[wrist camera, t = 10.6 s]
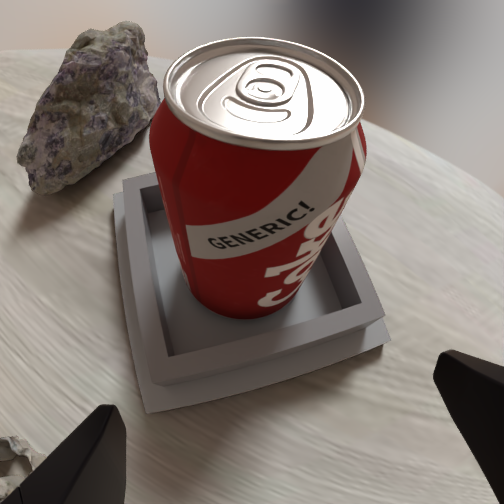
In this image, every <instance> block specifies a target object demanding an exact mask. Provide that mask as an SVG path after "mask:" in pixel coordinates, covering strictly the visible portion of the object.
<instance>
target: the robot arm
mask: <svg viewBox="0 0 504 504" xmlns="http://www.w3.org/2000/svg"><path fill="white" fill-rule="evenodd" d="M433 379H434V382H435V384H436V386H437V388H438V390H439V392H440V394H441V397H442V399H443V401H444V403H445V405H446V407H447V409H448V411H449V413H450V415H451V417H452V419H453V421H454V423H455V424H456V426H457V428H458V429H459V431H460V433H461V434H462V436H463V438H464V439H465V441H466V443H467V445H468V446H469V448H470V450H471V452H472V453H473V455H474V457H475V459H476V460H477V462H478V464H479V466H480V468H481V469H482V471H483V473H484V475H485V477H486V479H487V480H488V482H489V484H490V486H491V488H492V490H493V492H494V494H495V496H496V498H497V500H498V502H499V504H504V367H503V366H500V365H497V364H494V363H491V362H488V361H485V360H482V359H479V358H476V357H473V356H470V355H467V354H464V353H462V352H459V351H456V350H447V351H445V352H442V353H441V354H440V355H439V357H438V360H437V364H436V367H435V370H434V373H433ZM19 486H20V487H19ZM19 486H17V487H16V488H15V489H14V490H13V491H12V492H11V493H10V494H9V495H8V496H7V497H6V498H5V499H4V500H3V501H2V502H1V503H0V504H124V499H125V489H126V427H125V424H124V422H123V420H122V418H121V415H120V413H119V411H118V408H117V407H116V406H115V405H109V404H102V405H99V406H98V407H97V408H96V409H95V410H94V411H93V412H92V413H91V414H90V415H89V416H88V417H87V418H86V419H85V420H84V421H83V422H82V423H81V424H80V425H79V426H78V427H77V428H76V429H75V430H74V431H73V432H72V433H71V434H70V435H69V436H68V437H67V438H66V439H65V440H64V441H63V442H62V443H61V444H60V445H59V446H58V447H57V448H56V449H55V450H54V451H53V452H52V453H51V454H50V455H49V456H48V457H47V458H46V459H45V460H44V461H43V462H42V463H41V464H40V465H39V466H38V467H37V468H36V469H35V470H34V471H32V472H31V473H30V474H29V475H28V476H27V477H26V478H25V479H24V480H23V481H22V482H21V483H20V485H19Z"/></svg>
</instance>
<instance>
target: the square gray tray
mask: <svg viewBox="0 0 504 504" xmlns="http://www.w3.org/2000/svg"><path fill="white" fill-rule="evenodd" d="M122 181H123V192H120V193H116V194H113V200H114V218H115V232H116V244H117V254H118V264H119V273H120V281H121V289H122V296H123V303H124V310H125V316H126V322H127V328H128V334H129V339H130V345H131V350H132V355H133V360H134V365H135V370H136V374H137V379H138V383H139V388H140V392H141V396H142V400H143V404H144V408H145V412H146V414H149V413H156V412H161V411H166V410H172V409H177V408H181V407H186V406H191V405H195V404H200V403H204V402H209V401H213V400H217V399H221V398H225V397H229V396H233V395H237V394H240V393H244V392H248V391H251V390H255V389H258V388H262V387H265V386H269V385H272V384H275V383H278V382H282V381H285V380H288V379H291V378H294V377H297V376H300V375H303V374H306V373H309V372H312V371H315V370H318V369H321V368H324V367H326V366H329V365H332V364H335V363H337V362H340V361H343V360H345V359H348V358H350V357H353V356H355V355H358V354H361V353H363V352H365V351H368V350H370V349H373V348H375V347H378V346H380V345H382V344H385V343H387V342H389V341H391V338H390V336H389V333H388V330H387V328H386V325H385V323H384V320H383V318H382V317H383V316H385V313H384V310H383V308H382V305H381V303H380V300H379V298H378V296H377V293H376V291H375V288H374V286H373V284H372V281H371V279H370V277H369V274H368V272H367V270H366V268H365V265H364V263H363V261H362V259H361V256H360V254H359V252H358V250H357V248H356V246H355V243H354V241H353V239H352V237H351V235H350V233H349V231H348V229H347V226H346V224H345V222H344V220H343V218H342V216H341V214H340V216H339V218H338V220H337V222H336V224H335V226H334V228H333V229H332V231H331V233H330V235H329V237H328V239H327V240H326V242H325V244H324V246H323V248H322V250H321V251H320V253H319V255H318V257H317V258H316V260H315V262H314V264H313V266H312V267H311V269H310V271H309V273H308V274H307V276H306V278H305V280H304V281H303V283H302V285H301V287H300V288H299V290H298V292H297V293H296V295H295V296H294V298H293V299H292V300H291V301H290V302H289V303H288V304H287V305H286V306H285V307H283V308H282V309H281V310H279V311H277V312H276V313H274V314H272V315H270V316H267V317H264V318H260V319H255V320H234V319H229V318H225V317H222V316H220V315H217V314H215V313H213V312H211V311H210V310H208V309H207V308H205V307H204V306H203V305H201V304H200V303H199V302H198V301H197V300H196V299H195V297H194V296H193V295H192V293H191V292H190V290H189V289H188V287H187V285H186V282H185V280H184V276H183V273H182V270H181V266H180V263H179V259H178V256H177V252H176V249H175V245H174V242H173V238H172V234H171V231H170V227H169V223H168V219H167V216H166V212H165V208H164V204H163V200H162V196H161V192H160V188H159V184H158V180H157V176H156V172H154V173H149V174H145V175H141V176H137V177H133V178H129V179H125V180H122Z"/></svg>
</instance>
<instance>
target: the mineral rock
mask: <svg viewBox="0 0 504 504" xmlns="http://www.w3.org/2000/svg"><path fill="white" fill-rule="evenodd" d="M144 42H145V35H144V33H143V30H142V28H141V27H140V26H139V25H138V24H136V23H133V22H130V21H125V22H120V23H118V24H117V25H115V26H113V27H111V28H109V29H108V30H105V31H99V30H94V29H89V30H87V31H85V32H83V33H81V34H80V35H79V36H78V37H77V39H76V40H75V42H74V44H73V45H72V46H71V48H70V49H68V50H67V51H66V54H65V58H64V61H63V63H62V65H61V67H60V69H59V72H58V74H57V75H56V76H55V77H54V79H53V80H52V82H51V84H50V85H49V86H48V87H47V88H46V90H45V91H44V93H43V94H42V96H41V97H40V99H39V101H38V102H37V105H36V108H35V112H34V114H33V115H32V117H31V119H30V123H29V126H28V131H27V134H26V135H25V136H24V138H23V142H22V144H21V145H20V148H19V151H18V154H17V163H18V164H20V165H21V166H23V167H26V172H27V173H28V178H29V186H30V187H31V190H32V191H34V192H36V193H37V194H39V195H49V194H53V193H55V192H58V191H59V190H61V189H63V188H64V187H65V186H66V185H70V184H75V183H76V182H77V181H78V180H80V179H81V178H83V177H84V176H86V175H87V174H89V173H90V172H91V171H92V170H93V169H94V168H96V167H99V166H100V165H101V164H102V162H103V161H105V160H107V159H109V158H110V157H111V156H112V155H113V154H114V153H115V152H116V151H117V150H118V149H120V148H122V147H123V146H124V145H126V144H128V143H131V141H132V140H133V139H134V136H135V135H136V133H137V132H139V131H140V130H142V129H143V128H145V127H146V126H147V125H148V124H149V121H150V119H151V118H152V117H153V116H154V115H155V113H156V111H157V109H158V107H159V106H160V103H161V102H160V98H159V94H158V89H157V81H156V79H155V78H154V76H153V74H151V73H150V72H149V68H148V65H147V56H148V52H147V50H146V49H145V45H144Z"/></svg>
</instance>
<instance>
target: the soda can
mask: <svg viewBox="0 0 504 504" xmlns="http://www.w3.org/2000/svg"><path fill="white" fill-rule="evenodd" d="M163 90H164V97H165V98H164V100H163V101H162V103H161V104H160V106H159V107H158V109H157V111H156V113H155V115H154V117H153V120H152V123H151V127H150V134H149V143H150V150H151V154H152V159H153V163H154V167H155V172H156V176H157V180H158V184H159V188H160V192H161V196H162V200H163V204H164V208H165V212H166V216H167V219H168V223H169V227H170V231H171V234H172V238H173V242H174V245H175V249H176V252H177V256H178V259H179V263H180V266H181V270H182V273H183V276H184V280H185V282H186V285H187V287H188V289H189V290H190V292H191V293H192V295H193V296H194V297H195V299H196V300H197V301H198V302H199V303H200V304H201V305H203V306H204V307H205V308H207V309H208V310H210V311H211V312H213V313H215V314H217V315H220V316H222V317H225V318H229V319H234V320H255V319H260V318H264V317H267V316H270V315H272V314H274V313H276V312H277V311H279V310H281V309H282V308H283V307H285V306H286V305H287V304H288V303H289V302H290V301H291V300H292V299H293V298H294V296H295V295H296V293H297V292H298V290H299V288H300V287H301V285H302V283H303V281H304V280H305V278H306V276H307V274H308V273H309V271H310V269H311V267H312V266H313V264H314V262H315V260H316V258H317V257H318V255H319V253H320V251H321V250H322V248H323V246H324V244H325V242H326V240H327V239H328V237H329V235H330V233H331V231H332V229H333V228H334V226H335V224H336V222H337V220H338V218H339V216H340V214H341V213H342V211H343V209H344V207H345V205H346V203H347V201H348V199H349V197H350V195H351V194H352V192H353V190H354V188H355V186H356V184H357V182H358V180H359V178H360V176H361V174H362V172H363V169H364V165H365V162H366V154H367V153H366V141H365V136H364V133H363V129H362V126H361V123H360V120H361V118H362V116H363V113H364V110H365V97H364V93H363V90H362V88H361V86H360V84H359V83H358V81H357V80H356V78H355V77H354V76H353V75H352V74H351V73H350V72H349V71H348V70H347V69H346V68H345V67H343V66H342V65H341V64H340V63H338V62H337V61H335V60H334V59H332V58H330V57H329V56H327V55H325V54H323V53H321V52H319V51H316V50H314V49H312V48H309V47H306V46H303V45H300V44H296V43H293V42H289V41H285V40H279V39H273V38H262V37H238V38H229V39H223V40H218V41H214V42H210V43H207V44H204V45H201V46H199V47H196V48H194V49H192V50H190V51H188V52H186V53H185V54H183V55H182V56H180V57H179V58H178V59H177V60H175V61H174V62H173V64H172V65H171V66H170V67H169V69H168V70H167V72H166V74H165V77H164V83H163Z"/></svg>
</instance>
